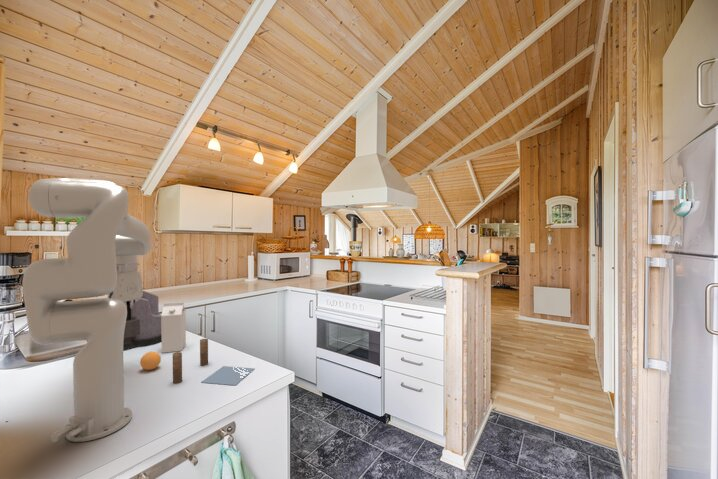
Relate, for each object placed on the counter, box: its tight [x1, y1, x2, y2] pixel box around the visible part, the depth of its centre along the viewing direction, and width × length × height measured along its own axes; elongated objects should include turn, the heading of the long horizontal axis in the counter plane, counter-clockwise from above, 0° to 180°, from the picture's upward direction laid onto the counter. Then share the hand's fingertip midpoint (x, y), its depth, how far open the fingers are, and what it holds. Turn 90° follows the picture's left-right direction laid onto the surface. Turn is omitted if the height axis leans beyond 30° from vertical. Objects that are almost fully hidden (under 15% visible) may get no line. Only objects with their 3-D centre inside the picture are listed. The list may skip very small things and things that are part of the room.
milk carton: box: [160, 302, 187, 354], centre depth 127 cm, size 7×7×19 cm
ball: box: [139, 351, 162, 371], centre depth 109 cm, size 6×6×6 cm
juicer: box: [86, 290, 162, 352], centre depth 132 cm, size 30×16×24 cm, turn 146°
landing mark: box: [201, 365, 256, 386], centre depth 104 cm, size 12×12×1 cm
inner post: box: [172, 351, 183, 384], centre depth 100 cm, size 3×3×9 cm
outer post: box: [199, 338, 209, 367], centre depth 113 cm, size 3×3×9 cm
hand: (125, 319), depth 110 cm, fingers closed
